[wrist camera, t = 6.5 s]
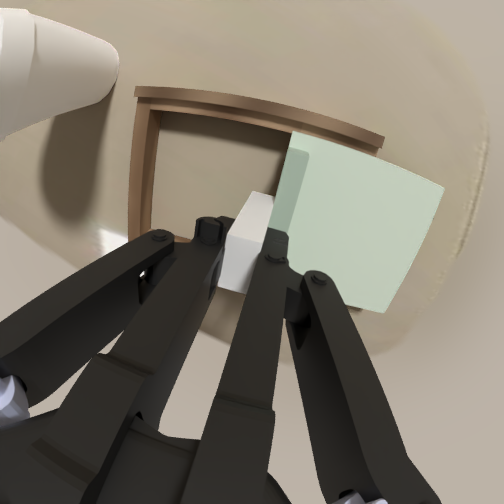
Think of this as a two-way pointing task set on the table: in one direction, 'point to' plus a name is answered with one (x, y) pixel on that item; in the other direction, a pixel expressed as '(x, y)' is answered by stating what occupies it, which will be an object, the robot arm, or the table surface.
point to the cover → (352, 218)
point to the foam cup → (49, 69)
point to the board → (227, 108)
